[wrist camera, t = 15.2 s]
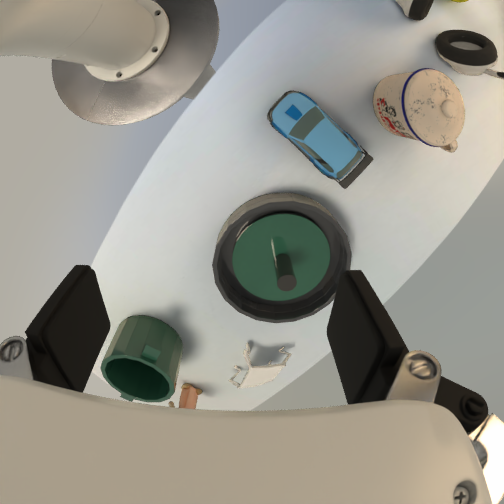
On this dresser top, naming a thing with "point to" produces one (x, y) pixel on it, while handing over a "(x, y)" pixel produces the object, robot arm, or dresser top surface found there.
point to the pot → (143, 359)
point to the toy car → (318, 137)
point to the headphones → (458, 44)
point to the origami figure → (258, 371)
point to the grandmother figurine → (188, 397)
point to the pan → (287, 308)
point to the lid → (281, 256)
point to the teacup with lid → (421, 107)
